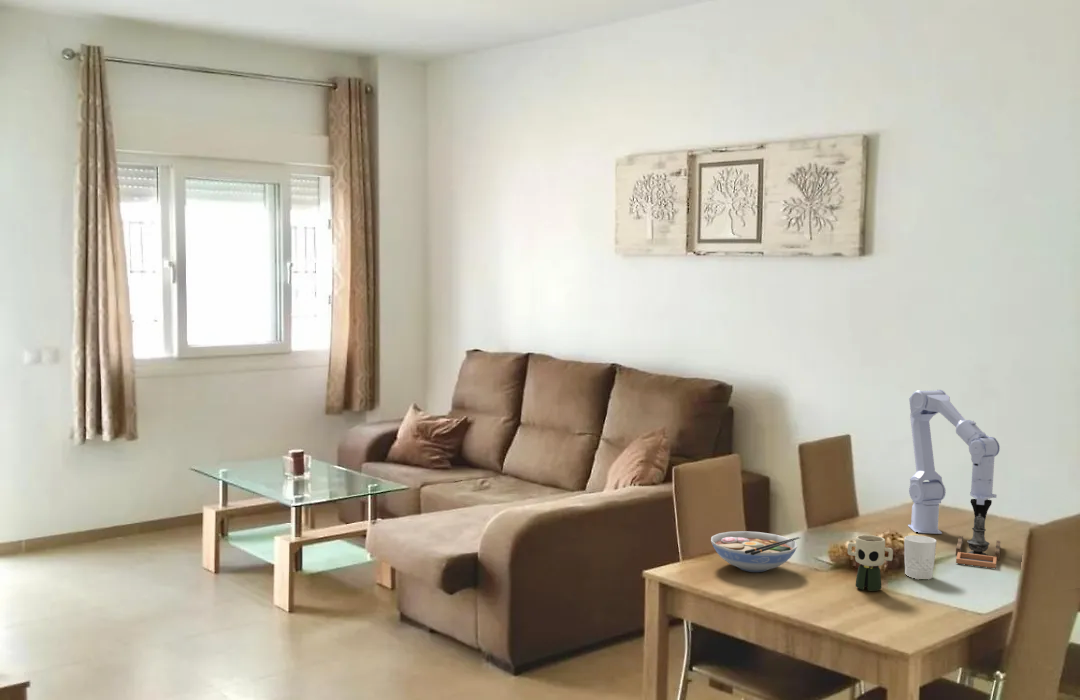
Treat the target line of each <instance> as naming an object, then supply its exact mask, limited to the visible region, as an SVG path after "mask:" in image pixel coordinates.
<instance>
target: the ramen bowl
mask: <svg viewBox="0 0 1080 700" xmlns="http://www.w3.org/2000/svg"><path fill="white" fill-rule="evenodd" d="M798 539H799V540H800V537H799V536H797V537H793V538H789V537H786V536H783V535H778V534H775V533H767V532H763V531H762V532H760V531H747V530H746V531H745V530H743V531H737V530H736V531H726V532H719V533H716V534H714V535H712V536H711V537H710V543H711V545H712V547H713V549H714V550H715V552H716V553H717V554H718V556H719V557H720V558H721V559H723V560H724V561H725V562H727V564H730V565H731V566H734V567H735V568H736V567H737V568H738V569H740V570H741V571H744V572H749V573H763V572H766V571H768V570H772V569H776V568H777V567H778V568H779V567H780V566H781V565H784V564H785V563H787V562H788V560H790V559H791V557H792V556H793V555H794V554H795V552H796V550H797V548H798V542H796V540H798Z"/></svg>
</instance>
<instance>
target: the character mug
mask: <svg viewBox="0 0 1080 700" xmlns="http://www.w3.org/2000/svg"><path fill="white" fill-rule="evenodd" d="M853 547H854V548H855V550H854V551H852V550H853ZM886 552H888V556H885V554H886ZM847 555H849V556H854V559H855V562H856V563H858V564H859V566H858V568H857V573H856V579H855V587H856V588H857V589H859V590H865V588H867V591H871V592H872V591H873V592H875V591H880V590H881V589H882V575H881V568H880V566H882V565H884V563H885V561H887V562H892V561H893V555H894V550H893V548H891V547H886V539H885V538H884V537H882V536H877V535H872V534H861V535H857V536H856V537H855V542H848V543H847Z"/></svg>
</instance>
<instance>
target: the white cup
mask: <svg viewBox="0 0 1080 700" xmlns="http://www.w3.org/2000/svg"><path fill="white" fill-rule="evenodd" d="M903 540H904V543H903V544H904V553H903V554H904V575H905V574H906V575H907V576H909V577H912V578H911V579H913V578H915V579H914V580H919V579H928V580H931V579H932V578H933V574H934V573H933V572H934V567H935V560H936V549H937V539H935V538H933V537H932V536H931V537H930V536H925V535H918V534H915V535H906V536H904V539H903ZM906 575H905V576H906ZM907 576H906V577H907ZM909 577H908V578H909Z"/></svg>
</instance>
